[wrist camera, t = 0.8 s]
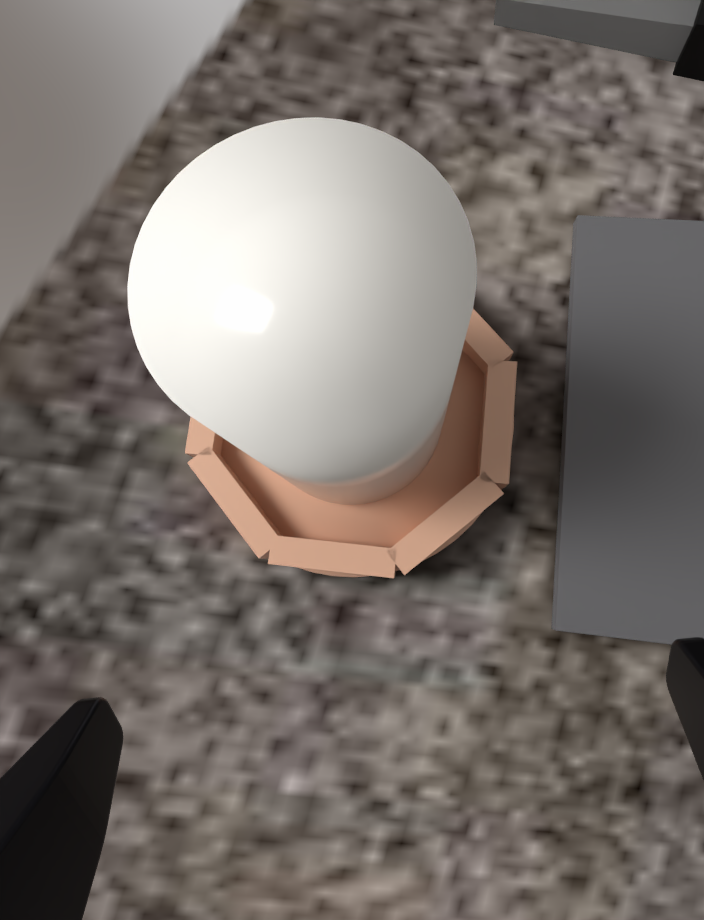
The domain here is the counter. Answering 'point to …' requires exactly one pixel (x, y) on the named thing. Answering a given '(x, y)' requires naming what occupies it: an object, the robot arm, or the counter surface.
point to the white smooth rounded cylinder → (309, 302)
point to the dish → (390, 519)
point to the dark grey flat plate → (633, 433)
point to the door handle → (618, 26)
